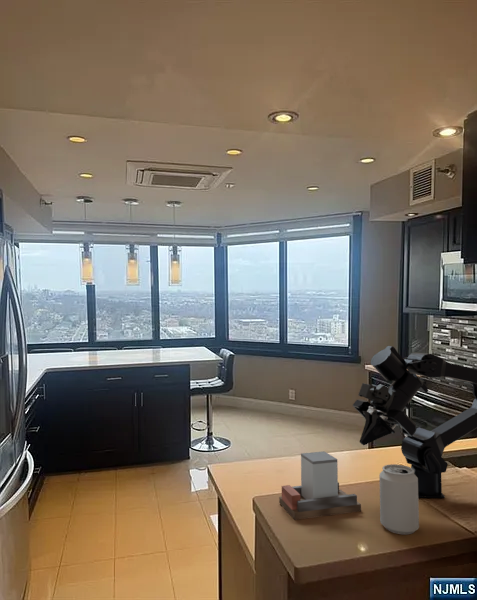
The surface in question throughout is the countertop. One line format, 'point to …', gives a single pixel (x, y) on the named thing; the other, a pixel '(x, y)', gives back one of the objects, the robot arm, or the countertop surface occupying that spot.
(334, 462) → the grey rectangular box
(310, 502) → the grey rail holder
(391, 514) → the can
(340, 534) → the countertop surface
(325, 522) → the countertop surface
